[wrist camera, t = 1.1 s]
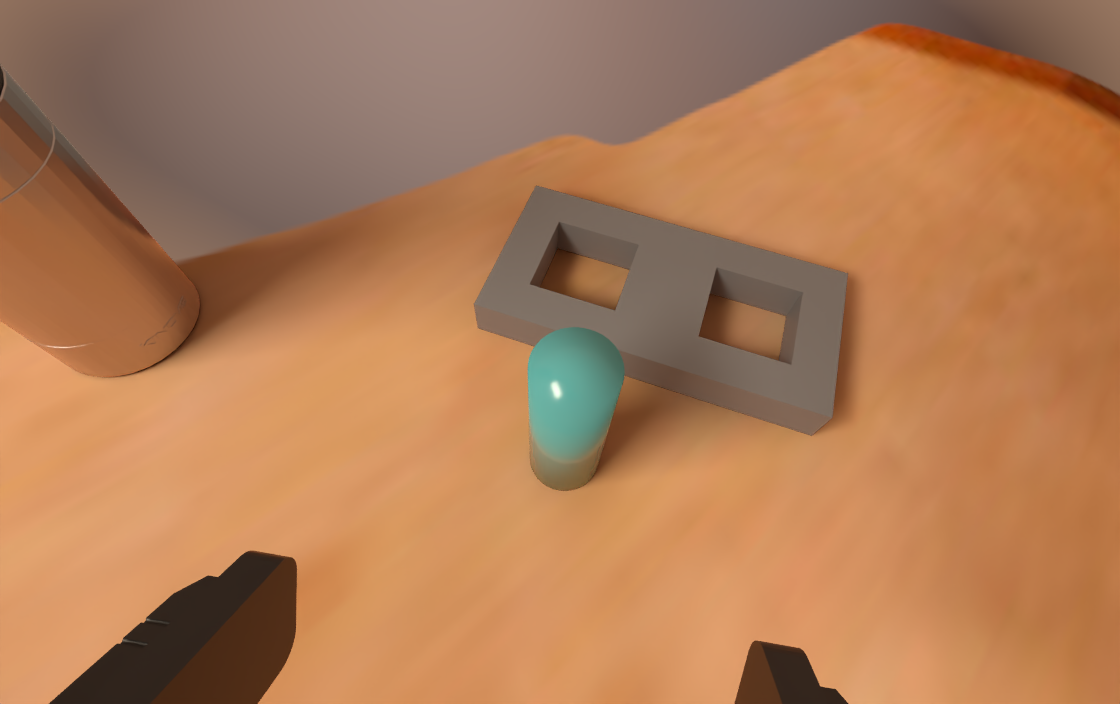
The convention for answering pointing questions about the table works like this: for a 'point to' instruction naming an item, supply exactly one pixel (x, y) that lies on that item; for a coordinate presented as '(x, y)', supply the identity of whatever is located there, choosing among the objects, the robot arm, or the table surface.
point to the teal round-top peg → (571, 404)
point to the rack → (675, 307)
